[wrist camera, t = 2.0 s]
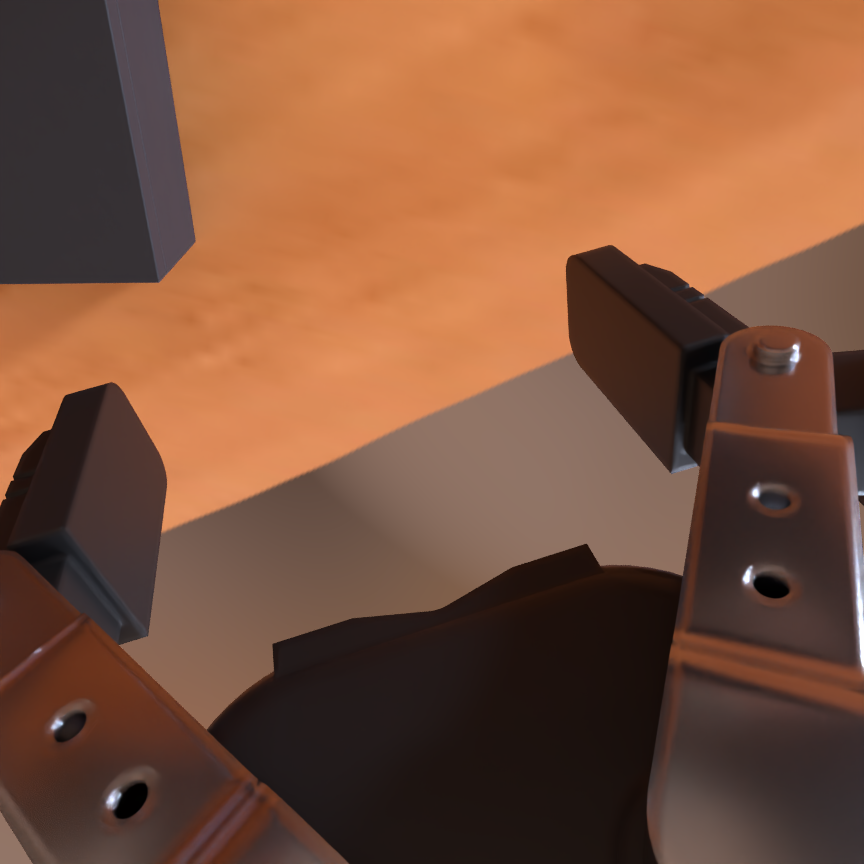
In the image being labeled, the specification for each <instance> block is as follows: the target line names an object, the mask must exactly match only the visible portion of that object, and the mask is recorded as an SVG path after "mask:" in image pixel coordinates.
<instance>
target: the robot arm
mask: <svg viewBox="0 0 864 864" xmlns="http://www.w3.org/2000/svg"><path fill="white" fill-rule="evenodd" d="M566 283H567V304H568V326H569V339H570V344H571V348H572V351H573V354H574V356H575V358H576V360H577V362H578V364H579V365H580V367H581V368H582V369H583V370H584V371H585V373H586V374H587V375H588V376H589V377H590V379H591V380H592V381H593V382H594V383H595V384H596V386H597V387H598V388H599V389H600V390H601V391H602V393H603V394H604V395H605V396H606V397H607V399H608V400H609V401H610V402H611V403H612V404H613V406H614V407H615V408H616V409H617V410H618V411H619V413H620V414H621V415H622V416H623V417H624V419H625V420H626V421H627V422H628V423H629V425H630V426H631V427H632V428H633V429H634V430H635V431H636V433H637V434H638V435H639V436H640V437H641V439H642V440H643V441H644V442H645V443H646V444H647V446H648V447H649V448H650V449H651V450H652V452H653V453H654V454H655V455H656V456H657V458H658V459H659V460H660V461H661V462H662V463H663V465H664V466H665V467H666V468H667V469H668V470H669V472H670V473H671V474H673V473H676V472H679V471H682V470H686V469H689V468H692V467H695V466H699V467H700V470H699V477H698V483H697V489H696V496H695V503H694V509H693V515H692V522H691V527H690V534H689V540H688V547H687V553H686V559H685V566H684V572H683V576H681V575H678V574H675V573H671V572H667V571H663V570H658V569H653V568H648V567H639V566H630V565H606V566H600V565H599V564H598V562H597V560H596V558H595V557H594V555H593V553H592V552H591V550H590V548H589V547H588V545H587V544H584V545H581V546H578V547H575V548H572V549H568V550H565V551H562V552H559V553H556V554H553V555H549V556H546V557H543V558H540V559H537V560H534V561H531V562H528V563H524V564H521V565H518V566H515V567H512V568H510V569H509V570H507V571H505V572H503V573H502V574H500V575H499V576H497V577H495V578H493V579H492V580H490V581H488V582H487V583H485V584H483V585H481V586H480V587H478V588H476V589H474V590H473V591H471V592H469V593H468V594H466V595H464V596H463V597H461V598H459V599H457V600H456V601H454V602H452V603H451V604H449V605H447V606H445V607H443V608H441V609H438V610H435V611H429V612H417V613H406V614H395V615H384V616H374V617H363V618H352V619H349V620H346V621H343V622H340V623H337V624H333V625H330V626H327V627H324V628H321V629H318V630H315V631H312V632H309V633H305V634H302V635H299V636H296V637H293V638H290V639H287V640H283V641H280V642H277V643H274V644H273V660H274V661H273V662H274V672H272V673H270V674H269V675H267V676H265V677H264V678H262V679H261V680H259V681H258V682H257V683H255V684H254V685H252V686H251V687H250V688H248V689H247V690H246V691H245V692H243V693H242V694H241V695H240V696H239V697H238V698H237V699H235V700H234V701H233V702H232V703H231V704H230V705H229V706H228V707H227V708H226V709H225V710H224V711H223V712H222V713H221V714H220V715H219V716H218V717H217V718H216V719H215V720H214V721H213V723H212V724H211V725H210V726H209V728H208V729H207V730H206V729H205V728H204V727H203V726H202V725H201V724H200V723H198V721H197V720H196V719H194V718H193V717H192V716H191V715H190V714H189V713H188V712H187V711H186V710H185V709H184V708H183V707H182V706H181V705H180V704H179V703H178V702H177V701H176V700H175V699H174V698H173V697H172V696H171V695H170V694H169V693H168V692H167V691H166V690H165V689H163V688H162V687H161V686H160V685H159V684H158V683H157V682H156V681H155V680H154V679H153V678H152V677H151V676H150V675H149V674H148V673H147V672H146V671H145V670H144V669H143V668H142V667H141V666H140V665H138V663H137V662H136V661H134V660H133V659H132V658H131V657H130V656H129V655H128V654H127V653H126V652H125V651H124V650H123V649H122V648H121V647H120V646H119V645H120V644H124V643H127V642H130V641H133V640H137V639H140V638H143V637H146V636H148V632H149V625H150V617H151V609H152V599H153V593H154V584H155V577H156V569H157V561H158V553H159V545H160V537H161V529H162V521H163V513H164V505H165V497H166V489H167V478H166V472H165V468H164V464H163V461H162V459H161V456H160V454H159V452H158V450H157V449H156V447H155V445H154V443H153V442H152V440H151V438H150V437H149V435H148V433H147V431H146V430H145V428H144V426H143V425H142V423H141V421H140V419H139V418H138V416H137V414H136V413H135V411H134V409H133V407H132V406H131V404H130V402H129V401H128V399H127V397H126V395H125V394H124V392H123V391H122V390H121V388H120V387H119V386H118V385H116V384H115V383H112V382H111V383H107V384H104V385H100V386H96V387H93V388H89V389H86V390H82V391H78V392H75V393H71V394H68V395H66V396H65V397H64V398H63V401H62V403H61V406H60V408H59V411H58V414H57V416H56V419H55V421H54V424H53V427H52V429H51V430H48V431H44V432H43V433H42V434H41V435H40V436H39V437H38V438H37V439H36V440H35V441H34V442H33V444H32V445H31V446H30V447H29V448H28V449H27V450H26V451H25V452H24V453H23V454H22V456H21V459H20V461H19V463H18V466H17V468H16V471H15V473H14V475H13V478H14V481H11V482H10V485H9V487H8V489H7V492H6V494H5V496H6V499H5V500H3V501H2V503H1V506H0V811H1V813H2V815H3V816H4V818H5V820H6V821H7V823H8V824H9V826H10V828H11V829H12V831H13V833H14V834H15V836H16V837H17V839H18V841H19V842H20V844H21V845H22V847H23V848H24V850H25V852H26V853H27V855H28V857H29V858H30V860H31V861H32V863H33V864H864V558H863V546H862V535H861V523H860V512H859V502H860V503H861V504H862V505H864V350H857V351H846V352H832V351H831V349H830V347H829V346H828V345H827V344H826V343H825V342H824V341H823V340H822V339H820V338H819V337H817V336H815V335H813V334H811V333H808V332H806V331H803V330H799V329H795V328H790V327H784V326H757V327H751V328H749V327H748V326H746V325H745V324H743V323H742V322H741V321H739V320H738V319H737V318H735V317H734V316H732V315H731V314H729V313H728V312H727V311H725V310H724V309H723V308H721V307H720V306H718V305H717V304H716V303H714V302H713V301H711V300H710V299H709V298H704V295H703V294H702V293H700V292H699V291H697V290H696V289H695V288H693V287H691V288H690V287H689V284H688V283H686V282H685V281H684V280H682V279H681V278H679V277H678V276H677V275H675V274H674V273H672V272H671V271H667V270H664V269H661V268H658V267H654V266H651V265H648V264H641V265H638V264H637V263H635V262H634V261H633V260H632V259H630V258H629V257H628V256H626V255H625V254H624V253H622V252H621V251H620V250H618V249H617V248H616V247H614V246H612V245H608V246H605V247H601V248H597V249H594V250H590V251H587V252H583V253H579V254H576V255H572V256H570V257H569V258H568V261H567V265H566Z"/></svg>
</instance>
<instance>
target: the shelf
mask: <svg viewBox="0 0 864 864" xmlns="http://www.w3.org/2000/svg"><path fill="white" fill-rule="evenodd" d="M194 243H195V234H194V228H193V222H192V215H191V209H190V203H189V196H188V190H187V183H186V177H185V171H184V164H183V158H182V152H181V145H180V139H179V133H178V126H177V120H176V114H175V107H174V101H173V95H172V88H171V82H170V75H169V69H168V63H167V56H166V50H165V44H164V37H163V31H162V25H161V18H160V12H159V6H158V0H0V284H62V283H159V282H160V281H161V280H162V279H163V278H164V277H165V275H166V274H167V273H168V272H169V271H170V270H171V269H172V268H173V267H174V265H175V264H176V263H177V262H178V261H179V260H180V259H181V258H182V256H183V255H184V254H185V253H186V252H187V251H188V250H189V248H190V247H191V246H192V245H193V244H194Z"/></svg>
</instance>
